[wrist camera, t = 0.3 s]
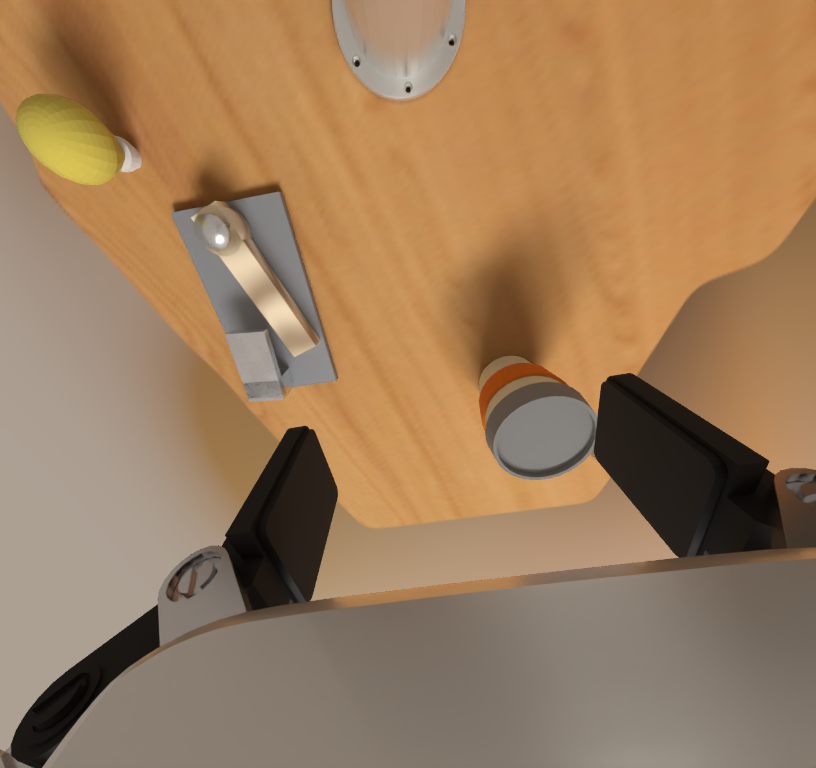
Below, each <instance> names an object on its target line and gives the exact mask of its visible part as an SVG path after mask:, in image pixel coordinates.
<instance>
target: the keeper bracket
mask: <svg viewBox="0 0 816 768" xmlns="http://www.w3.org/2000/svg"><path fill="white" fill-rule="evenodd" d="M225 336H226V339H227V341H228V344H229V347H230V350H231V352H232V355H233V358H234V361H235V363H236V366H237V369H238V371H239V374H240V377H241V380H242V382H243V385H244V388H245V391H246V393H247V396H248V399H249V401H250V402H253V401H268V400H283V399H285V398H286V396H287V395H288V393H289V392H290V390H291V389H292V387H293V386H294V382H293V379H292V375H291V371H290V368H289V367H287V368H279V366H278V363H277V359H276V356H275V353H274V349H273V346H272V342H271V339H270V336H269V332H268V329H256V330H243V331H230V332H228V333H226V334H225Z"/></svg>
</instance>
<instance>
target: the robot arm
mask: <svg viewBox="0 0 816 768" xmlns="http://www.w3.org/2000/svg"><path fill="white" fill-rule="evenodd" d="M332 13H333V21H334V27H335V31H336V35H337V39H338V43H339V45H340V48H341V51H342V53H343V56H344V58H345V60H346V62H347V64H348V66H349V68H350V69H351V71H352V72H353V74H354V75H355V76H356V78H357V79H358V80H359V81H360V82H361V83H362V84H363V85H364V86H365V87H366V88H367V89H368V90H369V91H371V92H372V93H374V94H375V95H377V96H378V97H381V98H384V99H387V100H389V101H398V102H403V101H410V100H414V99H416V98H419V97H421V96H423V95H425V94H426V93H428V92H429V91H431V90H432V89H433V88H434V87H435V86H436V85H437V84H438V83H439V82H440V81H441V80H442V79H443V77H444V76H445V74H446V73H447V71H448V70H449V68H450V67H451V65H452V63H453V60H454V58H455V56H456V54H457V51H458V48H459V45H460V42H461V38H462V33H463V28H464V24H465V13H466V0H332ZM450 41H452V42H453V43H454V45H453V46H450V45H449V42H450ZM356 62H359V63H360V66H358V67H356V66H355V64H356ZM407 88H410V90H411V91H410V93H407V92H406V89H407ZM594 454H595V457H596V459H597V461H598V462H599V463H600V464H601V466H602V467H603V468H604V469H605V470H606V472H607V473H608V474H609V475H610V476H611V478H612V479H613V480H614V481H615V482H616V484H617V485H618V486H619V487H620V488H621V490H622V491H623V492H624V493H625V495H626V496H627V497H628V498H629V499H630V501H631V502H632V503H633V504H634V505H635V507H636V508H637V509H638V510H639V511H640V513H641V514H642V515H643V516H644V517H645V519H646V520H647V521H648V522H649V523H650V524H651V526H652V527H653V528H654V530H655V531H656V532H657V533H658V534H659V536H660V537H661V538H662V539H663V540H664V541H665V543H666V544H667V545H668V546H669V547H670V549H671V550H672V551H673V553H675V555H676V556H678V557H679V558H674V559H665V560H656V561H646V562H638V563H628V564H619V565H610V566H601V567H592V568H583V569H574V570H565V571H557V572H548V573H539V574H530V575H522V576H513V577H504V578H496V579H487V580H479V581H471V582H461V583H453V584H445V585H436V586H428V587H419V588H411V589H403V590H395V591H386V592H378V593H370V594H362V595H354V596H346V597H337V598H330V599H323V600H316V601H310V600H311V598H312V595H313V592H314V588H315V583H316V580H317V576H318V572H319V568H320V564H321V560H322V556H323V553H324V549H325V545H326V541H327V537H328V533H329V529H330V525H331V521H332V517H333V513H334V509H335V505H336V502H337V497H338V490H337V486H336V483H335V481H334V478H333V476H332V473H331V471H330V468H329V466H328V463H327V461H326V458H325V456H324V453H323V451H322V448H321V446H320V443H319V441H318V438H317V436H316V433H315V431H314V430H313V429H310V430H309V428H308V427H307V426H302V427H295V428H290V429H288V430H287V431H286V433H285V435H284V437H283V438H282V440H281V442H280V443H279V445H278V447H277V448H276V450H275V452H274V453H273V455H272V457H271V459H270V460H269V462H268V464H267V465H266V467H265V469H264V471H263V472H262V474H261V475H260V477H259V479H258V481H257V482H256V484H255V486H254V487H253V489H252V491H251V492H250V494H249V496H248V497H247V499H246V501H245V502H244V504H243V506H242V508H241V509H240V511H239V513H238V514H237V516H236V518H235V519H234V521H233V523H232V524H231V526H230V528H229V530H228V531H227V533H226V535H225V536H226V537H227V538H226V540H225V541H224V543H223V545H222V546H219V545H218V546H209V547H206V548H203V549H200V550H198V551H196V552H194V553H193V554H191V555H190V556H188V557H187V558H185V559H184V560H183V561H181V562H180V563H179V564H178V565H177V566H176V567H175V568H174V569H173V570H172V571H171V572H170V574H169V575H168V576H167V578H166V579H165V581H164V582H163V584H162V586H161V588H160V590H159V596H158V605H156V606H155V607H154V608H152V609H151V610H150V611H148V612H147V613H145V614H144V615H143V616H141V617H140V618H139V619H137V620H136V621H135V622H133V623H132V624H130V625H129V626H128V627H126V628H125V629H124V630H122V631H121V632H119V633H118V634H117V635H115V636H114V637H113V638H111V639H110V640H109V641H107V642H106V643H104V644H103V645H102V646H101V647H99V648H98V649H97V650H95V651H94V652H92V653H91V654H90V655H88V656H87V657H85V658H84V659H83V660H81V661H80V662H79V663H77V664H76V665H75V666H73V667H72V668H71V669H69V670H68V671H67V672H65V673H64V674H63V675H62V676H61V677H59V678H58V679H57V680H56V681H55V682H53V683H52V684H51V685H50V686H49V688H47V689H46V691H45V692H44V693H43V694H42V695H41V696H40V697H39V698H38V699H37V700H36V702H35V703H34V704H33V705H32V707H31V708H30V709H29V710H28V712H27V713H26V715H25V716H24V718H23V719H22V721H21V723H20V724H19V726H18V728H17V730H16V732H15V735H14V737H13V740H12V743H11V746H10V747H9V748H8V749H7V750H6V751H3V750H0V768H816V470H813V469H806V468H789V469H785V470H781V471H780V472H778V473H777V474H775V475H774V474H773V473H771V472H770V471H768V470H767V469H766V468H767V465H768V463H769V460H767V459H766V458H764V457H762V456H761V455H759V454H758V453H756V452H754V451H753V450H752V449H750V448H748V447H747V446H745V445H744V444H742V443H741V442H739V441H737V440H736V439H734V438H733V437H731V436H730V435H728V434H726V433H725V432H723V431H722V430H720V429H718V428H717V427H715V426H714V425H712V424H711V423H709V422H708V421H706V420H704V419H703V418H701V417H700V416H698V415H697V414H695V413H693V412H692V411H690V410H689V409H687V408H686V407H684V406H682V405H681V404H679V403H678V402H676V401H675V400H673V399H671V398H670V397H668V396H667V395H665V394H664V393H662V392H660V391H659V390H657V389H656V388H654V387H652V386H651V385H649V384H648V383H646V382H645V381H643V380H642V379H640V378H638V377H637V376H635V375H634V374H631V373H627V374H621V375H614V376H610V377H608V378H607V380H606V382H603V383H602V385H601V391H600V400H599V409H598V418H597V426H596V435H595V444H594Z"/></svg>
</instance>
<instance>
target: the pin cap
mask: <svg viewBox="0 0 816 768" xmlns="http://www.w3.org/2000/svg"><path fill="white" fill-rule="evenodd" d="M194 232H195V235H196V237H197V239H198V240H199V241H200V242H201V243H202V244H203V245H204V246H205V247H207V248H209V249H213V250H219V249H223V248H225V247H226V246H227V245H228V244H229V241H230V231H229V228H228V226H227V224H226V223H225V222H224V221H223V220H222V219H221V218H220V217H219V216H217V215H215V214H211V213H203V214H200V215H198V216H197V217H196V219H195V221H194Z"/></svg>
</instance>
